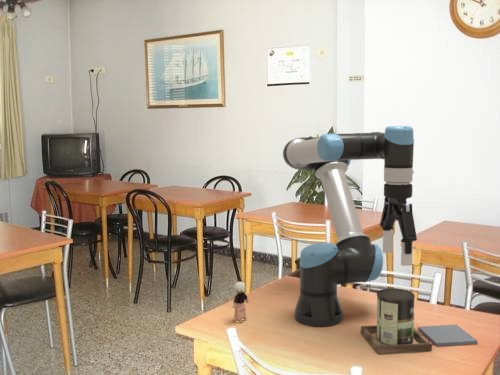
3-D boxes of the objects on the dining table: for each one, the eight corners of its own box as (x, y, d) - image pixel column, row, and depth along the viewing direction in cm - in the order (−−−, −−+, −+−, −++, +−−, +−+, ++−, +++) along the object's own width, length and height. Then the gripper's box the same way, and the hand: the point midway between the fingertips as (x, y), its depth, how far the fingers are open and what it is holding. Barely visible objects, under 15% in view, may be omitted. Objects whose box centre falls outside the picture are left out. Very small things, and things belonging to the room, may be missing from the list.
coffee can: (411, 335, 157) (413, 288, 156) (415, 350, 147) (416, 300, 146) (375, 333, 159) (376, 287, 158) (376, 347, 149) (377, 298, 148)
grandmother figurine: (239, 316, 175) (238, 278, 173) (250, 317, 173) (249, 279, 172) (229, 324, 168) (228, 285, 166) (240, 326, 166) (239, 286, 165)
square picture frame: (360, 332, 160) (360, 326, 160) (409, 329, 162) (409, 323, 161) (378, 354, 145) (378, 347, 145) (431, 351, 147) (431, 344, 147)
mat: (418, 329, 161) (418, 326, 161) (456, 327, 163) (456, 324, 163) (436, 346, 150) (436, 343, 149) (477, 344, 151) (477, 340, 151)
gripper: (431, 188, 136) (429, 270, 138) (394, 177, 160) (392, 247, 163) (402, 189, 135) (401, 271, 137) (369, 178, 159) (368, 248, 162)
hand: (396, 258), depth 150 cm, fingers open, 13 cm apart
